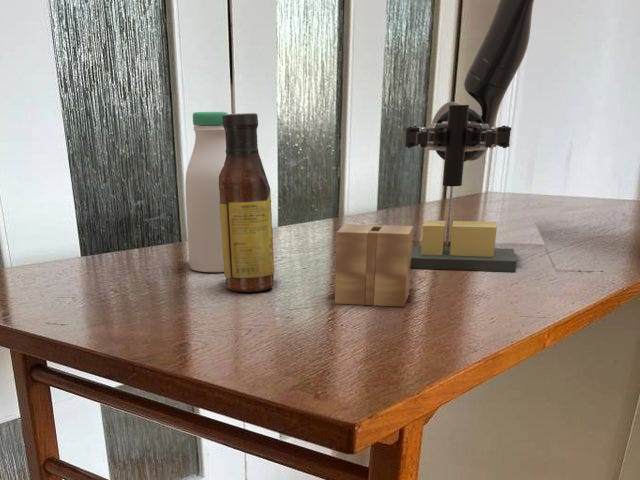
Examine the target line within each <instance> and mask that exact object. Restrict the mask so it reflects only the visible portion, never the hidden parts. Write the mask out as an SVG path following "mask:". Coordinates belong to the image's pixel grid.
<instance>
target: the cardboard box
mask: <svg viewBox="0 0 640 480" xmlns="http://www.w3.org/2000/svg"><path fill="white" fill-rule="evenodd" d="M335 233H336V234H335V235H336V237H335V238H336V240H335V279H334V280H335V281H334V304H335V305H336V304H337V305H355V306H356V305H357V306H375V307H399V308H405V306H406V303H407V301H408V298H409V296H410V281H411V270H412V268H411V254H412V246H413V238H414V237H413V236H414V226H413V225H389V224H387V225H386V224H384V225H383V224H344V225H343V226H341V228H340V229H338V230H337V231H336V232H335Z"/></svg>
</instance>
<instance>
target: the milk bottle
mask: <svg viewBox="0 0 640 480" xmlns="http://www.w3.org/2000/svg"><path fill="white" fill-rule="evenodd" d="M225 114H228V112H226V111H196V112H193V113H192V124H193V131H194V133H195V134H194V135H195V136H194V137H195V138H194V145H193V149H192V153H191V156H190V159H189V161H188V165H187V166H186V172H185V184H184V185H185V186H184V187H185V188H184V189H185V190H184V191H185V211H186V212H185V215H186V231H187V249H188V263H189V267H190V269H191V270H193V271H197V272H202V273H224V262H223V248H222V233H221V219H220V206H219V202H220V191H219V175H220V172H221V170H222V168H223V166H224V163H225V160H226V152H225V151H226V136H225V129H224V127H223V115H225Z"/></svg>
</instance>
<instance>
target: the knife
mask: <svg viewBox="0 0 640 480" xmlns="http://www.w3.org/2000/svg"><path fill="white" fill-rule="evenodd" d="M469 108H470V105H469V104H460V105H449V113H448V125H447V137H446V149H445V160H444V164H443V174H442V175H443V176H442V187H450V189H449V192H450V193H449V200H448V201H449V202H448V214H447V223H446V234H445V246H444V247H445V254H447V252H448V247H449V240H450V229H451V217H452V207H453V204H452V203H453V194H454V187H462V186H463V177H464V164H465V162H464V155H465V144H466V133H467V123H468V112H469Z"/></svg>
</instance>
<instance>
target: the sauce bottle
mask: <svg viewBox="0 0 640 480" xmlns="http://www.w3.org/2000/svg"><path fill="white" fill-rule="evenodd" d="M258 119H259V117H258V114H257V112H243V113H241V112H240V113H227V114H225V115H223V127H224V129H225V136H226V151H225V152H226V160H225V163H224V166H223V168H222V170H221V172H220V175H219V191H220V202H219V206H220V219H221V233H222V248H223V262H224V272H223V273H224V278H225V286H226V289H228V290H231V291H233V292H235V293H237V292H239V293H257V292H262V291H267V290H270V289H271V288H273V286H274V284H275V283H274V281H275V280H274V277H275V275H274V274H275V260H274V257H275V256H274V231H273V215H272V214H273V212H272V195H271V194H272V193H271V192H272V191H271V187H270V184H269V180H268V177H267V175H266V171H265V168H264V165H263V162H262V159H261V156H260V152H259V148H258V145H259V144H258V126H259V120H258Z"/></svg>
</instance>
